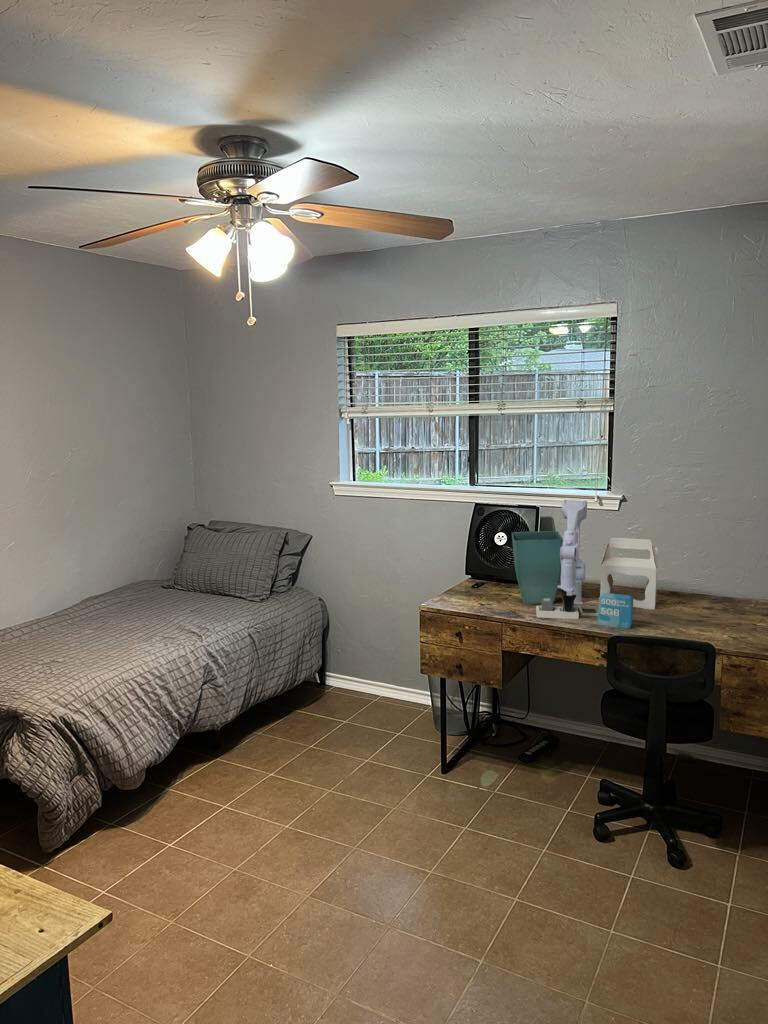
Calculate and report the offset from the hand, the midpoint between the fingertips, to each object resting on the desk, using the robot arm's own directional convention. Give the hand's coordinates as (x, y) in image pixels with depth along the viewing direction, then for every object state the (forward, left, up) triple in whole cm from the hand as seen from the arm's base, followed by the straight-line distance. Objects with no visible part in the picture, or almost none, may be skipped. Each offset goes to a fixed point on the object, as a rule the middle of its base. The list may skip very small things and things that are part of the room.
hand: (567, 608), depth 299 cm
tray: (-6, +11, -3) cm, 13 cm away
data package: (+10, +17, -4) cm, 20 cm away
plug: (0, 0, -3) cm, 3 cm away
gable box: (-23, +27, -4) cm, 36 cm away
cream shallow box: (0, -4, -3) cm, 5 cm away
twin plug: (0, -8, -3) cm, 8 cm away
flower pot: (-23, -11, -3) cm, 25 cm away
